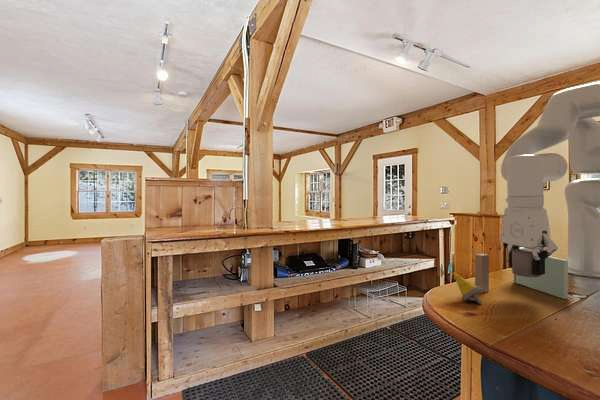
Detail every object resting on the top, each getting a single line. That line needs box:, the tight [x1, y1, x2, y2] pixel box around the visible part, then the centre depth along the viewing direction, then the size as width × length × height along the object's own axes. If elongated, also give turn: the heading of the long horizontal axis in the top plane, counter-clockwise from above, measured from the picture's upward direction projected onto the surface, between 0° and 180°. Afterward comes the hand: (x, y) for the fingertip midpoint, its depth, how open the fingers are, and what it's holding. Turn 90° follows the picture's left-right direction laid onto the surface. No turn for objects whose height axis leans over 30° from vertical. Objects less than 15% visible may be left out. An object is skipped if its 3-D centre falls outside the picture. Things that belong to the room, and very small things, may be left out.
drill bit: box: [452, 271, 483, 305], centre depth 78 cm, size 5×5×10 cm
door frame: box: [474, 247, 529, 294], centre depth 90 cm, size 28×2×10 cm, turn 115°
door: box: [513, 255, 569, 300], centre depth 85 cm, size 15×1×10 cm, turn 10°
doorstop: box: [511, 249, 541, 277], centre depth 79 cm, size 6×6×6 cm
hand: (526, 270), depth 79 cm, fingers closed on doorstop, 6 cm apart
